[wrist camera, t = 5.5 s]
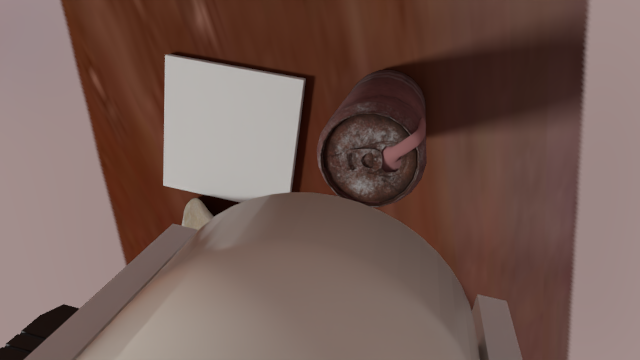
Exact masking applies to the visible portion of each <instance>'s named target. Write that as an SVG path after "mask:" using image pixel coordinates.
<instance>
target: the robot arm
mask: <svg viewBox="0 0 640 360" xmlns="http://www.w3.org/2000/svg"><path fill="white" fill-rule="evenodd" d="M196 233H197V229H193V228H189V227H185V226H180V225H176V224H172V225H171V226H170V227H169V228H168V229H167V230H166V231H164V232H163V233H162V234H161V235H160V236H159V237H158V238H157V239H156V240H155V241H153V242H152V243H151V244H150V245H149V246H148V247H147V248H146V249H145V250H144V251H142V252H141V253H140V254H139V255H138V256H137V257H136V258H135V259H134V260H133V261H132V262H130V263H129V264H128V265H127V266H126V267H125V268H124V269H123V270H122V271H121V272H119V273H118V274H117V275H116V276H115V277H114V278H113V279H112V280H111V281H110V282H108V283H107V284H106V285H105V286H104V287H103V288H102V289H101V290H100V291H99V292H97V293H96V294H95V295H94V296H93V297H92V298H91V299H90V300H89V301H88V302H86V303H85V304H84V305H83V306H82V307H81V308H80V309H79V308H75V307H72V306H68V305H61V306H59V307H57V308H55V309H53V310H51V311H49V312H46V313H45V314H42V315H40V316H39V317H38V318H37V319H35V320H34V321H33V322H32V323H30V324H29V325H28V326H27V327H26V328H24V329H23V330H22V331H21V334H20V335H19V334H18V335H16V336H15V337H14V338H13V339H11V340H10V341H9V342H8V343H6V346H5V347H4V348H3V347H2V348H0V360H75V359H76V358H77V357H78V356H79V355H80V354H81V353H82V352H83V351H84V350H85V349H86V348H87V347H88V346H89V345H90V344H91V343H92V342H93V341H94V339H95V338H96V337H97V336H98V335H99V334H100V333H101V332H102V331H103V330H104V329H105V328H106V327H107V326H108V325H109V324H110V323H111V322H112V321H113V320H114V319H115V317H116V316H117V315H118V314H119V313H120V312H121V311H122V310H123V309H124V308H125V307H126V306H127V305H128V304H129V303H130V302H131V301H132V300H133V299H134V298H135V296H136V295H137V294H138V293H139V292H140V291H141V290H142V289H143V288H144V287H145V286H146V285H147V284H148V283H149V282H150V281H151V280H152V279H153V278H154V277H155V276H156V274H157V273H158V272H159V271H160V270H161V269H162V268H163V267H164V266H165V265H166V264H167V263H168V262H169V261H170V260H171V259H172V258H173V257H174V256H175V255H176V254H177V252H178V251H179V250H180V249H181V248H182V247H183V246H184V245H185V244H186V243H187V242H188V241H189V240H190V239H191V238H192V237H193V236H194V235H195V234H196ZM472 316H473V320H474V324H475V330H476V337H477V343H478V350H479V357H480V360H522V357H521V353H520V349H519V345H518V342H517V338H516V334H515V331H514V327H513V323H512V320H511V316H510V312H509V308H508V305H507V301H504V300H500V299H495V298H491V297H487V296H482V295H478V294H477V297H476V300H475V303H474V307H473V310H472Z"/></svg>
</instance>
